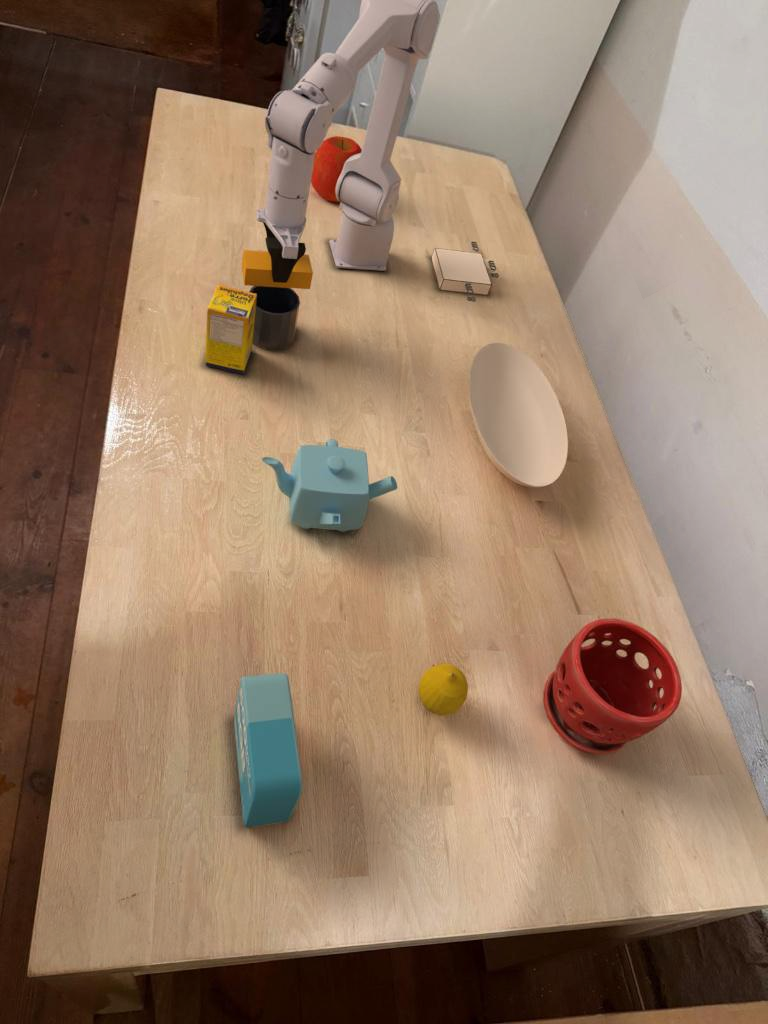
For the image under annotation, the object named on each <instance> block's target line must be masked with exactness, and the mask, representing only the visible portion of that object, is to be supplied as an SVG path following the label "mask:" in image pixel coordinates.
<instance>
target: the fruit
mask: <svg viewBox="0 0 768 1024" xmlns="http://www.w3.org/2000/svg"><path fill="white" fill-rule="evenodd" d="M468 691H469V684H468V681H467V677H466V675H465V674H464V672H463V671H462V670H461V669H460V668H459V667H457V666H455V665H453V664H451V663H439V664H436V665H433V666H431V667H430V668H428V669H427V670H426V671H425V672H424V673H423V674H422V676H421V678H420V681H419V684H418V698H419V700H420V702H421V704H422V706H423V707H424V708H425V709H426V710H427V711H429V713H432V714H433V715H434V714H435V715H436V716H449V715H452V714H454V713H455V712H456V713H457V712H458V711H459V710H460V709H461V708H462V707H463V705H464V704H465V702H466V700H467V698H468V693H469V692H468Z"/></svg>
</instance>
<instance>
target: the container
mask: <svg viewBox="0 0 768 1024" xmlns="http://www.w3.org/2000/svg"><path fill="white" fill-rule="evenodd" d="M470 245H471V247H472V250H473V252H472V251H464V250H457V249H448V248H440V247H434V248H433V252H432V256H431V257H430V258H431V263H432V267H433V270H434V273H435V278H436V282H437V285H438V288H439V290H440V291H446V292H455V293H463V294H468V295H483V296H488V295H489V293H490V291H491V289H492V286H493V284H492V280H491V278H496V279H498V278H499V277H500V275H499V273H497V272H495V271H497V269H498V268H497V266H496V263H495V260H488V261H487V263H488V266H489V269H490V271H492V272H491V273H490V274H489V271H488V269H487V265H486V262H485V259H484V257H483V253H481V252H479V251H480V248H479V246H478V242H477V241H471V243H470ZM493 272H495V273H493ZM466 300H467V301H468V302H473V303H475V302H476V300H477V298H476V297H475V296H467V298H466Z"/></svg>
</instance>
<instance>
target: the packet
mask: <svg viewBox="0 0 768 1024" xmlns="http://www.w3.org/2000/svg"><path fill="white" fill-rule="evenodd" d="M241 258H242V259H241V271H242V278H243V285H244V286H250V287H253V286H265V287H282V288H291V289H297V290H298V289H301V290H311V288H312V287H311V286H312V280H313V274H314V271H313V268H312V263H311V258H310V255H309V254H306V253H305V254H304V255H303V256H302V257H301V258H300V259H299V260H298V261H297V263H296V264H295V266H294V268H293V270H292V272H291V275H290V277H289V279H288V281H287V283H280V282H273V278H272V269H271V256H270V254H269V252H268V251H263V250H252V249H251V250H250V249H243V250H242V257H241Z"/></svg>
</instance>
